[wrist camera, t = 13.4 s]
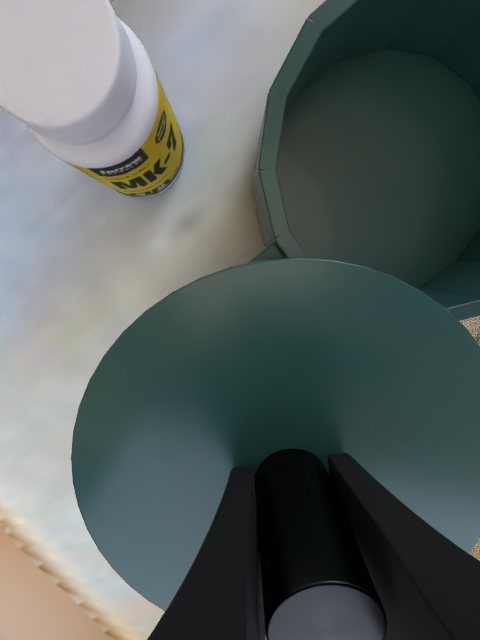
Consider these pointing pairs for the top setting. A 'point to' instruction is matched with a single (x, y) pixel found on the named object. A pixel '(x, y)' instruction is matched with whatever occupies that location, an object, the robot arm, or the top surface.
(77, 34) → the supplement bottle
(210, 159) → the top surface
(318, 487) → the lid
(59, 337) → the top surface
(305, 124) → the pot
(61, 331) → the top surface
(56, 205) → the top surface
